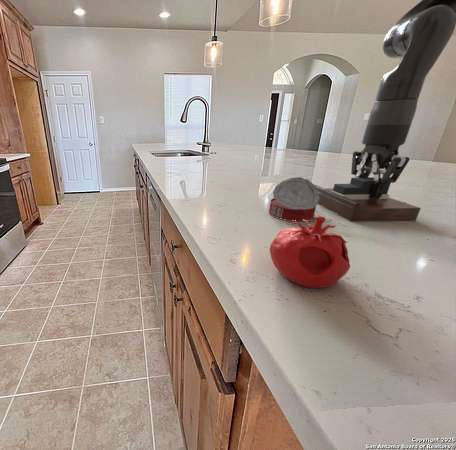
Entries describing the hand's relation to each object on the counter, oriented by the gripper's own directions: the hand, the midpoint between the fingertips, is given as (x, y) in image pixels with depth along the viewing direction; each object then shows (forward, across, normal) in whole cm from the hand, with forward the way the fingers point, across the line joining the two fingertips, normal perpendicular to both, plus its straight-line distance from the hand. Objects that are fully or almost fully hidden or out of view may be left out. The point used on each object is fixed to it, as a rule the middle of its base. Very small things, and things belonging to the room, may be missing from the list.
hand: (365, 195), depth 61 cm
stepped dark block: (0, 0, +2) cm, 2 cm away
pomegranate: (+4, -30, +30) cm, 42 cm away
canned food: (+4, -4, +20) cm, 21 cm away
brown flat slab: (+3, 0, +2) cm, 4 cm away
